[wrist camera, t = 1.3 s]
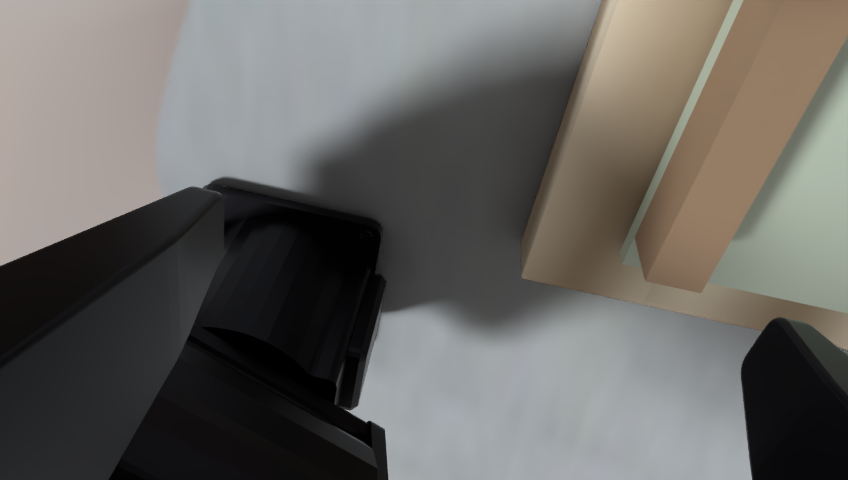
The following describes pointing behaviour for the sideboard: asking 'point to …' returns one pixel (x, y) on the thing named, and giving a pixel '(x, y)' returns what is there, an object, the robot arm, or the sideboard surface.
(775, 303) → the puzzle board
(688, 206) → the cover
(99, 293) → the robot arm
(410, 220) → the sideboard surface
